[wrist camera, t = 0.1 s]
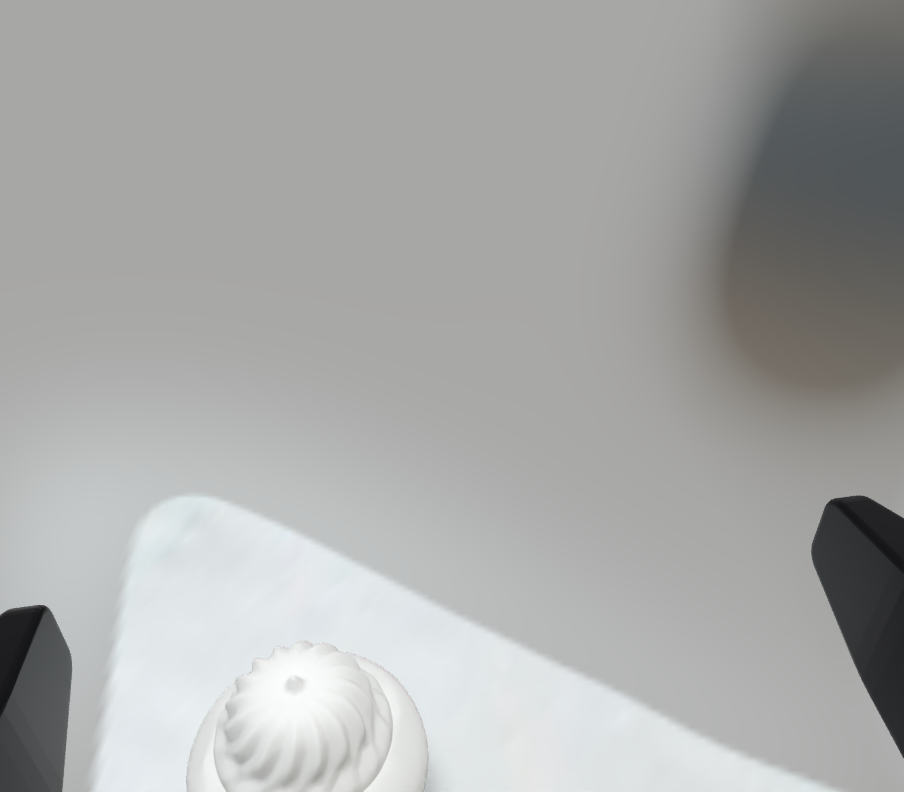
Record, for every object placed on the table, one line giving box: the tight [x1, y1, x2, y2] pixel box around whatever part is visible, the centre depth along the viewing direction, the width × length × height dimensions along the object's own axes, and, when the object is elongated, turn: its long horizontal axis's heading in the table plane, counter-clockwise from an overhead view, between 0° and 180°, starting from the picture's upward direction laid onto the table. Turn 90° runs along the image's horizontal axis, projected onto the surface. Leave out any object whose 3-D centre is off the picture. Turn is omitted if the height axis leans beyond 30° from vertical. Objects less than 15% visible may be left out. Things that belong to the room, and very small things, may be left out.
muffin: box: [186, 641, 428, 792], centre depth 22 cm, size 6×6×7 cm
